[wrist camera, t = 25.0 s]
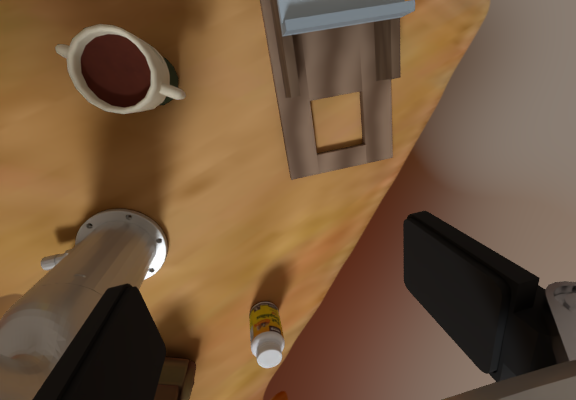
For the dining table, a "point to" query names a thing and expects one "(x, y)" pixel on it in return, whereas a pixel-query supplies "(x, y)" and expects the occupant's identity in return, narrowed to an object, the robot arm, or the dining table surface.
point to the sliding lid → (337, 13)
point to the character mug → (119, 70)
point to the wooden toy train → (176, 379)
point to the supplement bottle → (266, 334)
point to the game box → (333, 87)
